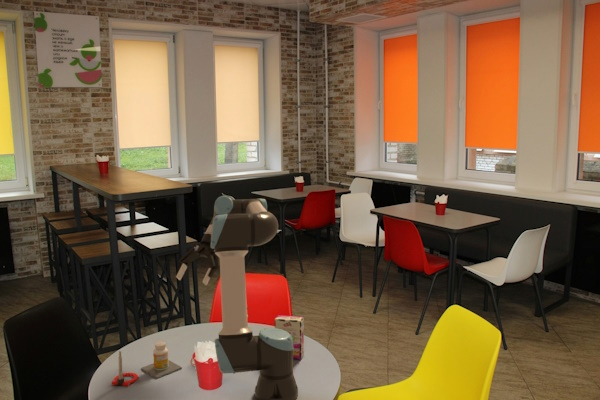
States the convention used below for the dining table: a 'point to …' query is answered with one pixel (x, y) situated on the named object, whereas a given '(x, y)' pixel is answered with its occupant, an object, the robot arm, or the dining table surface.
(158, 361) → the supplement bottle
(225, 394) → the dining table surface
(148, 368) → the coaster
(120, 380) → the tow hook
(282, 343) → the robot arm
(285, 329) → the candy bar box
